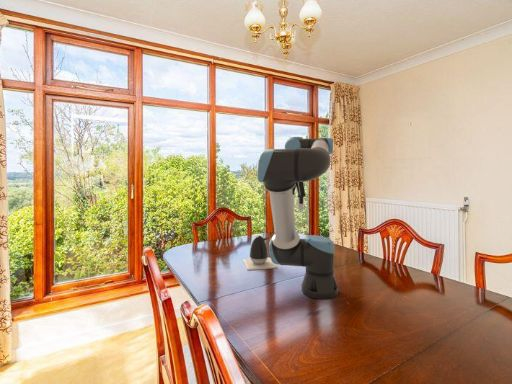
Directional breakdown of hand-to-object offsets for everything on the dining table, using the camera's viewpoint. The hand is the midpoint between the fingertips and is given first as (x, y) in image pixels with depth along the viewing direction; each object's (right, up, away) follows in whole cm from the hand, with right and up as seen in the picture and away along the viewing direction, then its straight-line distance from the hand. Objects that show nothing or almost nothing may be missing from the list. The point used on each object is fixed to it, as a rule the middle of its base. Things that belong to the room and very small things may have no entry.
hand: (296, 208), depth 147 cm
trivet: (-19, -31, +9) cm, 38 cm away
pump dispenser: (-19, -31, +8) cm, 37 cm away
